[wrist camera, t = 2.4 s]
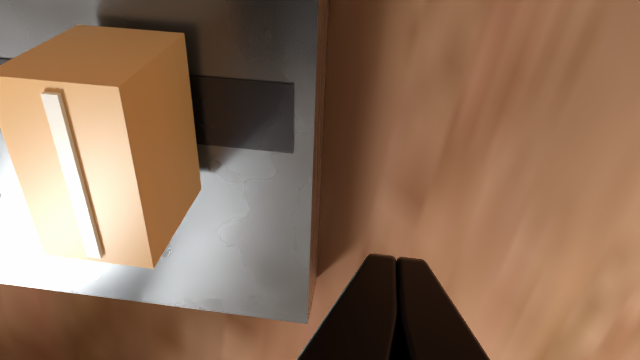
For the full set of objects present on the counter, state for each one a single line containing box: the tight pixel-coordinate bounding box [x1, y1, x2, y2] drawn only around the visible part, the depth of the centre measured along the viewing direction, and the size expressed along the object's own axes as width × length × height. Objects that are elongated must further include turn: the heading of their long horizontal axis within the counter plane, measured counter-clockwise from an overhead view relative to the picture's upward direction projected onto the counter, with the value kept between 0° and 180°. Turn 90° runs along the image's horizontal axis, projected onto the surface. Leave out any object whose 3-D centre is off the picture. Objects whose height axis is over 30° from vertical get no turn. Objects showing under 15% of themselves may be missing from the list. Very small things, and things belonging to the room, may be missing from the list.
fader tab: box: [0, 25, 202, 269], centre depth 11 cm, size 4×2×3 cm, turn 178°
